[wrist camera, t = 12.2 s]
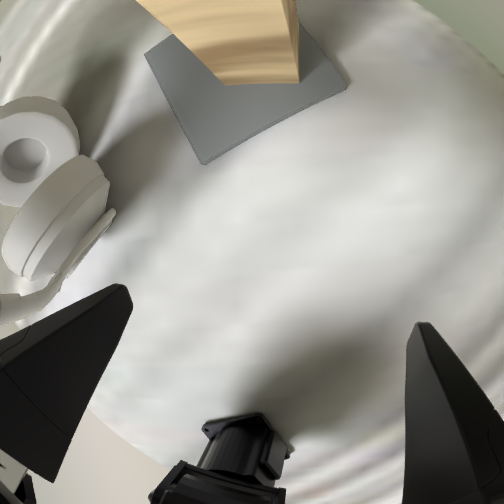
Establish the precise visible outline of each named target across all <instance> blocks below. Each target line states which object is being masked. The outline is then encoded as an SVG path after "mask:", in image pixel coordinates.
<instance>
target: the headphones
mask: <svg viewBox="0 0 504 504" xmlns="http://www.w3.org/2000/svg"><path fill="white" fill-rule="evenodd" d="M79 151H80V140H79V134H78V130H77V128H76V126H75V124H74V122H73V120H72V118H71V117H70V115H69V113H68V112H67V110H66V109H65V108H64V107H62V106H61V105H60V104H58V103H57V102H56V101H54V100H51V99H47V98H44V97H41V96H32V97H22V98H19V99H16V100H14V101H11V102H9V103H7V104H5V105H4V106H0V203H1V204H3V205H8V206H15V207H21V206H22V207H21V209H20V210H19V212H18V213H17V215H16V216H15V218H14V220H13V222H12V224H11V226H10V227H9V229H8V231H7V233H6V235H5V238H4V241H3V245H2V248H1V251H2V256H3V258H4V260H5V262H6V264H7V266H8V268H9V269H10V270H11V271H13V272H14V273H16V274H18V275H19V276H25V277H26V278H27V279H28V280H29V281H33V280H36V279H39V278H42V277H44V276H47V275H50V274H53V273H56V274H55V275H54V276H53V277H52V279H51V280H50V281H49V283H48V285H47V286H46V287H45V288H44V289H43V290H40V291H37V292H35V293H32V294H29V295H26V296H22V297H21V296H20V295H19V294H18V293H17V294H0V327H1V326H4V325H7V324H11V323H14V322H15V321H18V320H21V319H24V318H26V317H28V316H31V315H33V314H35V313H37V312H39V311H41V310H42V309H43V308H44V307H45V306H46V305H47V304H48V303H49V302H50V301H51V300H52V299H53V297H54V296H55V295H56V294H57V292H59V291H60V288H61V285H62V282H63V281H64V279H65V278H68V277H69V276H70V275H71V273H72V272H73V271H74V270H75V269H76V267H77V266H78V265H79V263H80V262H81V261H82V260H83V258H84V257H85V256H86V255H87V253H88V252H89V251H90V249H91V248H92V247H93V246H94V244H95V243H96V242H97V241H98V240H99V238H100V237H101V236H102V235H103V233H104V232H105V231H106V230H107V228H108V227H109V226H110V225H111V223H112V221H111V220H112V219H113V217H114V216H115V214H116V210H115V209H114V208H111V209H109V210H108V211H107V213H106V214H104V213H105V209H106V203H107V197H108V192H109V187H110V182H109V181H108V180H107V179H106V178H105V177H104V175H105V174H104V173H103V171H102V170H101V168H100V166H99V165H98V163H97V162H96V161H94V160H92V159H90V158H88V157H87V156H85V155H83V154H82V155H79Z"/></svg>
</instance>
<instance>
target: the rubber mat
mask: <svg viewBox="0 0 504 504" xmlns="http://www.w3.org/2000/svg"><path fill="white" fill-rule="evenodd" d="M298 22H299V21H298ZM144 56H145V58H146V60H147V62H148V64H149V66H150V67H151V69H152V71H153V73H154V75H155V77H156V79H157V81H158V83H159V85H160V87H161V89H162V91H163V92H164V94H165V96H166V98H167V100H168V102H169V104H170V106H171V108H172V110H173V112H174V114H175V115H176V117H177V119H178V121H179V123H180V125H181V127H182V129H183V131H184V133H185V135H186V137H187V138H188V140H189V142H190V144H191V146H192V148H193V150H194V152H195V154H196V156H197V158H198V159H199V161H200V163H201V164H203V165H206V164H208V163H209V162H211V161H212V160H214V159H216V158H217V157H219V156H221V155H222V154H224V153H226V152H227V151H229V150H231V149H232V148H234V147H236V146H237V145H239V144H241V143H243V142H244V141H246V140H248V139H250V138H251V137H253V136H255V135H257V134H259V133H260V132H262V131H264V130H266V129H268V128H269V127H271V126H273V125H275V124H277V123H279V122H281V121H283V120H284V119H286V118H288V117H290V116H292V115H294V114H296V113H298V112H300V111H302V110H304V109H306V108H308V107H310V106H312V105H314V104H316V103H318V102H320V101H322V100H324V99H327V98H329V97H331V96H333V95H335V94H337V93H340V92H342V91H344V90H346V88H347V85H346V83H345V82H344V80H343V79H342V77H341V76H340V74H339V73H338V72H337V70H336V69H335V67H334V66H333V65H332V63H331V62H330V60H329V59H328V58H327V56H326V55H325V54H324V52H323V51H322V50H321V48H320V47H319V46H318V45H317V43H316V42H315V41H314V39H313V38H312V37H311V36H310V35H309V33H308V32H307V31H306V30H305V28H304V27H303V26H302V25H301V24H300V22H299V83H264V84H240V85H224V84H223V83H222V82H221V81H220V80H219V79H218V78H217V77H216V76H215V75H214V74H213V73H212V72H211V71H210V70H209V69H208V68H207V67H206V66H205V64H204V63H203V62H202V61H201V60H200V59H199V58H198V57H197V56H196V55H195V54H194V53H193V52H192V51H191V50H190V49H188V48H187V47H186V46H185V45H184V44H183V43H182V42H181V41H180V40H179V39H178V38H177V37H176V36H175V35H174V34H172V35H170V36H169V37H167V38H166V39H165V40H163V41H162V42H160V43H159V44H157V45H156V46H155V47H153V48H152V49H151V50H149V51H148V52H147V53H145V54H144Z"/></svg>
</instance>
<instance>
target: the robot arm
mask: <svg viewBox="0 0 504 504" xmlns="http://www.w3.org/2000/svg"><path fill="white" fill-rule="evenodd" d="M132 310H133V302H132V300H131V297H130V294H129V291H128V289H127V287H126V286H125V285H122V284H117V283H115V284H112V285H110V286H108V287H106V288H104V289H102V290H100V291H98V292H96V293H94V294H92V295H90V296H88V297H86V298H84V299H81V300H79V301H77V302H75V303H73V304H71V305H69V306H67V307H65V308H63V309H61V310H59V311H57V312H55V313H53V314H51V315H49V316H47V317H45V318H44V319H42V320H40V321H38V322H36V323H34V324H32V325H30V326H28V327H26V328H24V329H22V330H20V331H18V332H16V333H14V334H12V335H10V336H8V337H6V338H3V339H1V340H0V504H36V498H35V493H34V488H33V483H32V477H31V476H30V475H29V474H28V473H27V471H28V469H30V470H31V471H33V472H34V473H36V474H38V475H39V476H41V477H43V478H44V479H46V480H48V481H49V482H51V483H54V481H55V479H56V477H57V474H58V472H59V469H60V467H61V464H62V462H63V459H64V457H65V455H66V452H67V450H68V447H69V445H70V443H71V439H72V438H73V435H74V433H75V431H76V429H77V426H78V424H79V422H80V420H81V418H82V416H83V413H84V411H85V409H86V407H87V405H88V403H89V401H90V399H91V397H92V395H93V393H94V391H95V389H96V387H97V385H98V383H99V381H100V379H101V377H102V375H103V373H104V371H105V369H106V367H107V365H108V363H109V361H110V359H111V357H112V355H113V353H114V352H115V350H116V348H117V345H118V343H119V341H120V339H121V336H122V334H123V331H124V329H125V327H126V324H127V322H128V320H129V317H130V315H131V313H132ZM257 418H259V419H257ZM206 428H207V429H206ZM202 431H203V432H204V434H205V435H206V436H207V437H208V438H209V442H208V444H207V446H206V448H205V450H204V452H203V454H202V456H201V458H200V460H199V462H198V464H197V466H194V465H191V464H188V463H187V462H185V461H183V460H180V462H179V463H178V464H177V465H175V466H174V467H173V468H172V470H171V471H170V472H169V473H168V475H167V476H166V477H165V478H164V479H163V481H162V482H161V483H160V484H159V485H158V486H157V488H156V489H155V490H153V491H152V492H151V493H150V494H149V496H148V499H149V501H150V503H151V504H285V496H286V489H285V488H280V487H279V488H275V487H274V485H275V480H278V479H280V477H281V474H282V469H283V464H284V460H286V459H289V458H290V452H289V451H288V449H287V446H286V445H285V443H284V442H283V441H282V439H281V438H280V436H279V435H278V434H277V432H276V431H275V430H273V428H272V427H271V426H270V424H269V423H268V421H267V420H266V418H265V417H264V416H263V415H262V414H261V413H254V414H250V415H246V416H242V417H237V418H233V419H228V420H223V421H218V422H213V423H208V424H204V425H203V426H202ZM402 504H504V421H503V419H502V418H501V416H500V415H499V413H498V412H497V410H496V409H495V410H494V406H493V405H492V403H491V402H490V400H489V399H488V397H487V396H486V395H485V393H484V392H483V390H482V389H481V388H480V386H479V385H478V383H477V382H476V381H475V379H474V378H473V377H472V375H471V374H470V372H469V371H468V370H467V368H466V367H465V366H464V365H463V363H462V362H461V361H460V359H459V358H458V357H457V355H456V354H455V353H454V352H453V350H452V349H451V348H450V347H449V345H448V344H447V343H446V342H445V340H444V339H443V338H442V337H441V335H440V334H439V333H438V332H437V330H436V329H435V328H434V327H433V326H432V325H431V324H430V323H428V322H417V323H416V324H415V326H414V328H413V331H412V333H411V335H410V338H409V340H408V343H407V349H406V380H405V471H404V487H403V498H402Z"/></svg>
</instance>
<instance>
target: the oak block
mask: <svg viewBox="0 0 504 504" xmlns="http://www.w3.org/2000/svg"><path fill="white" fill-rule="evenodd" d="M136 1H137V2H138V3H139V4H141V5H142V6H143V7H144V8H145V9H146V10H148V11H149V12H150V13H151V14H152V15H153V16H154V17H155V18H157V19H158V20H159V21H160V22H161V23H162V24H163V25H164V26H165V27H166V28H168V29H169V30H170V31H171V32H172V33H173V34H174V35H175V36H176V37H177V38H178V39H179V40H180V41H181V42H182V43H183V44H184V45H185V46H186V47H187V48H188V49H190V50H191V51H192V52H193V53H194V54H195V55H196V56H197V57H198V58H199V59H200V60H201V61H202V62H203V63H204V64H205V66H206V67H207V68H208V69H209V70H210V71H211V72H212V73H213V74H214V75H215V76H216V77H217V78H218V79H219V80H220V81H221V82H222V83H223V84H224V85H240V84H264V83H299V22H298V16H297V10H296V5H295V0H136Z"/></svg>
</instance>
